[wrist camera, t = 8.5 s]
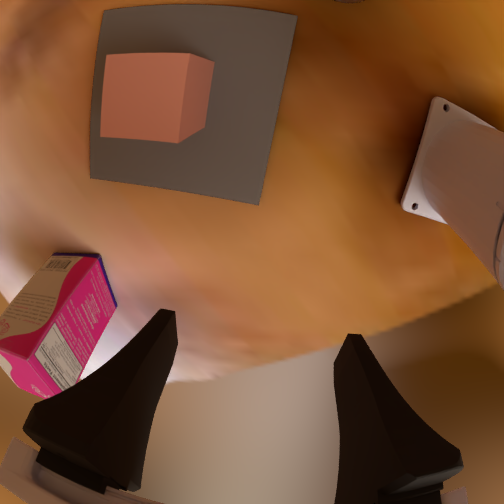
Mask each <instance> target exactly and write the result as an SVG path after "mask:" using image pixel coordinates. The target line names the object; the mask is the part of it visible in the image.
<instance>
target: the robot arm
mask: <svg viewBox="0 0 504 504" xmlns="http://www.w3.org/2000/svg"><path fill="white" fill-rule="evenodd" d="M444 104H446V106H447V109H446V111H444V109H443V106H444ZM414 203H416V206H415V207H414V208H412V205H413V204H414ZM400 204H401V207H402V208H403V209H404V210H405V211H407V212H411V213H414V214H417V215H420V216H424V217H427V218H430V219H433V220H436V221H439V222H442V223H445V224H448V225H449V226H450V227H451V228H452V229H453V230H454V231H455V232H456V233H457V234H458V235H459V237H460V238H461V239H462V240H463V241H464V242H465V243H466V244H467V245H468V247H469V248H470V249H471V250H472V251H473V252H474V253H475V255H476V256H477V257H478V258H479V259H480V261H481V262H482V263H483V264H484V265H485V267H486V268H487V269H488V270H489V272H490V273H491V274H492V275H493V277H494V278H495V279H496V281H497V282H498V283H499V284H500V285H501V287H502V288H503V290H504V132H501V131H499V130H497V129H496V128H494V127H492V126H491V125H489V124H488V123H486V122H485V121H483V120H481V119H480V118H478V117H476V116H475V115H473V114H471V113H469V112H468V111H466V110H464V109H462V108H461V107H459V106H457V105H455V104H453V103H451V102H449V101H447V100H445V99H443V98H441V97H434V98H433V99H432V101H431V105H430V109H429V113H428V117H427V121H426V125H425V128H424V132H423V135H422V139H421V142H420V145H419V149H418V152H417V155H416V158H415V161H414V165H413V168H412V171H411V174H410V177H409V180H408V182H407V185H406V188H405V191H404V194H403V196H402V199H401V203H400ZM177 345H178V338H177V328H176V316H175V311H172V310H166V309H160V310H159V311H158V312H157V313H156V314H155V315H154V316H153V317H152V318H151V320H150V321H149V322H148V323H147V324H146V325H145V326H144V327H143V328H142V329H141V330H140V332H139V333H138V334H137V335H136V336H135V337H134V338H133V339H132V340H131V341H130V342H129V343H128V344H127V345H126V346H124V347H123V348H122V349H121V350H120V351H119V352H118V353H117V354H116V355H115V356H113V357H112V358H111V359H110V360H109V361H108V362H106V363H105V364H104V365H102V366H101V367H100V368H99V369H97V370H96V371H94V372H93V373H92V374H90V375H89V376H87V377H86V378H84V379H83V380H81V381H80V382H78V383H76V384H75V385H73V386H71V387H69V388H67V389H66V390H64V391H62V392H60V393H58V394H56V395H54V396H52V397H49V398H47V399H45V400H43V401H40V402H38V403H35V404H34V406H33V408H32V409H31V411H30V413H29V415H28V417H27V419H26V421H25V424H24V426H23V431H24V432H25V433H26V434H27V435H28V436H29V437H30V438H31V439H32V440H33V441H34V442H36V443H37V444H38V445H39V446H40V447H41V449H40V451H39V452H38V451H37V450H35V449H34V448H32V447H30V446H29V445H27V444H25V443H24V442H22V441H20V440H19V439H17V438H16V437H13V438H12V440H11V443H10V445H9V447H8V449H7V452H6V454H5V456H4V459H3V461H2V463H1V466H0V484H1V485H2V486H4V487H5V488H7V489H8V490H9V491H11V492H12V493H13V494H15V495H16V496H18V497H19V498H20V499H22V500H23V501H25V502H26V503H28V504H163V503H159V502H156V501H152V500H148V499H145V498H141V497H138V496H135V495H132V494H129V493H126V492H123V491H120V490H119V489H122V490H125V491H127V490H129V491H132V492H135V491H137V490H139V489H140V488H141V479H142V472H143V465H144V460H145V454H146V448H147V444H148V439H149V434H150V429H151V425H152V421H153V417H154V413H155V410H156V407H157V404H158V401H159V399H160V396H161V393H162V391H163V388H164V386H165V383H166V381H167V378H168V375H169V373H170V370H171V367H172V365H173V361H174V357H175V353H176V349H177ZM334 389H335V397H336V404H337V412H338V420H339V430H340V456H339V473H338V482H337V490H336V497H335V503H334V504H468V500H467V493H466V487H461V488H458V489H456V490H453V491H450V492H447V493H445V494H442V495H440V490H442V489H443V481H445V480H447V479H449V478H451V477H452V476H454V475H456V474H457V473H459V472H460V471H461V470H462V469H463V467H464V466H463V461H462V457H461V453H460V450H459V449H457V448H456V447H455V446H453V445H452V444H451V443H449V442H448V441H446V440H445V439H444V438H442V437H441V436H440V435H439V434H437V433H436V432H435V431H434V430H433V429H432V428H431V427H429V426H428V425H427V424H426V423H425V422H424V421H423V420H422V419H421V418H420V417H419V416H418V415H417V414H416V413H415V411H414V410H413V409H412V408H411V407H410V406H409V404H408V403H407V402H406V401H405V400H404V399H403V397H402V396H401V395H400V394H399V392H398V391H397V389H396V388H395V387H394V385H393V384H392V382H391V381H390V380H389V378H388V377H387V375H386V373H385V372H384V370H383V369H382V367H381V366H380V364H379V363H378V361H377V359H376V358H375V356H374V354H373V353H372V351H371V350H370V349H369V346H368V345H367V343H366V341H365V340H364V338H363V337H362V335H361V334H348V335H347V337H346V339H345V341H344V343H343V345H342V347H341V349H340V351H339V354H338V356H337V358H336V359H335V362H334Z"/></svg>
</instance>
